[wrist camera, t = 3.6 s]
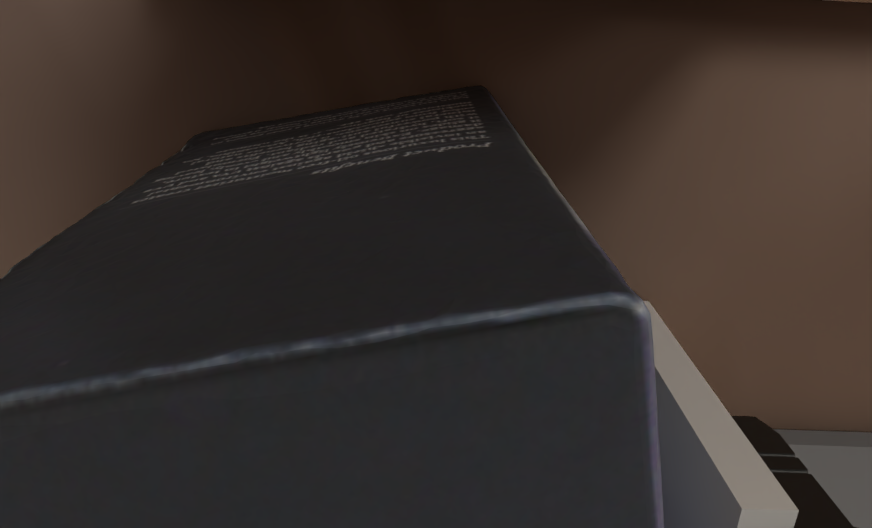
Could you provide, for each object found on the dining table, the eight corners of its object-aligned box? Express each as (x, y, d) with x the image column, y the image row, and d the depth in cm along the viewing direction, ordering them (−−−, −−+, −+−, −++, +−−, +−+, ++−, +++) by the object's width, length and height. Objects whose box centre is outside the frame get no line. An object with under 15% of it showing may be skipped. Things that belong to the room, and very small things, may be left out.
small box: (562, 503, 18) (739, 1152, 8) (307, 542, 18) (169, 1214, 8) (505, 72, 14) (713, 296, 4) (179, 131, 14) (-381, 476, 4)
